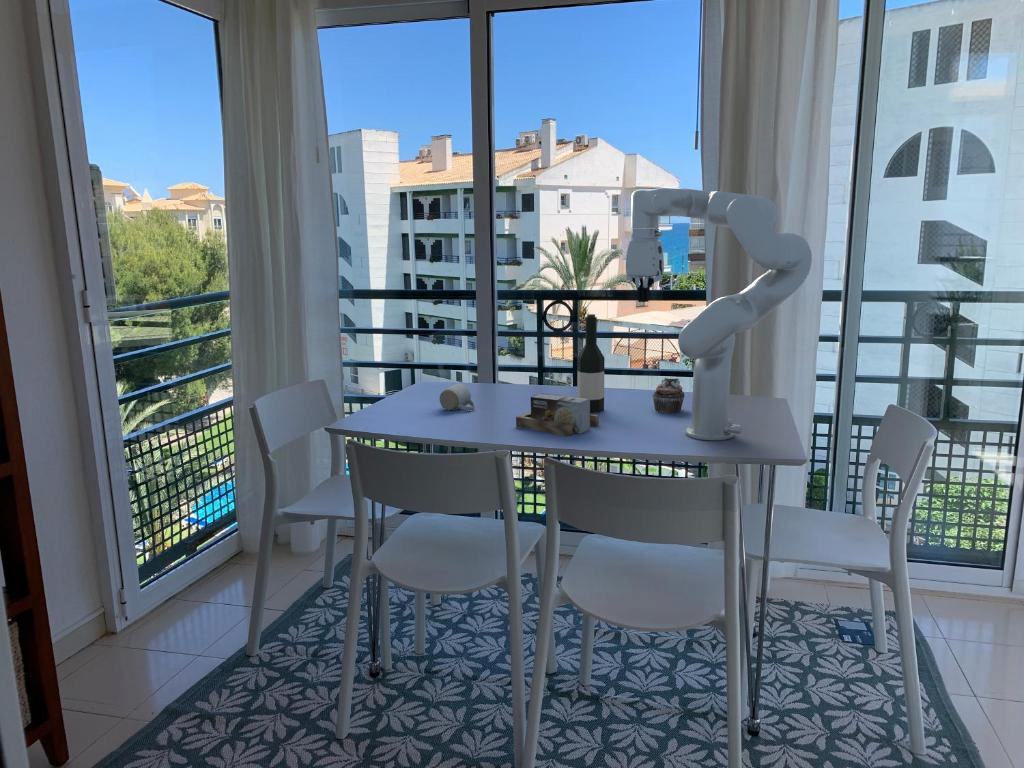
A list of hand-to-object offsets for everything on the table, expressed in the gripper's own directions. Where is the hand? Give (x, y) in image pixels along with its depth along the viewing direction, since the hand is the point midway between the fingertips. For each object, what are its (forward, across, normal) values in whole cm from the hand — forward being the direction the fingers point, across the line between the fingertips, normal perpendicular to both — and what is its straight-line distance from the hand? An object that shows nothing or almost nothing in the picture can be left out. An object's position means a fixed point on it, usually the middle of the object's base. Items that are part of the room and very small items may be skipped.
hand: (643, 301), depth 210 cm
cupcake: (+35, 0, -17) cm, 39 cm away
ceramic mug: (+35, +55, +18) cm, 68 cm away
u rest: (+35, +17, +18) cm, 43 cm away
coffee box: (+31, +7, +19) cm, 37 cm away
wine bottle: (+35, +20, -4) cm, 41 cm away
